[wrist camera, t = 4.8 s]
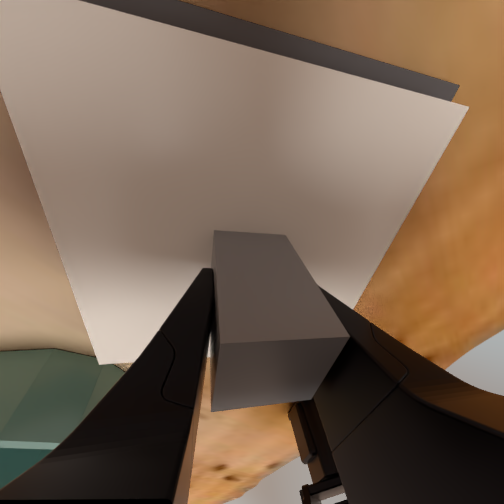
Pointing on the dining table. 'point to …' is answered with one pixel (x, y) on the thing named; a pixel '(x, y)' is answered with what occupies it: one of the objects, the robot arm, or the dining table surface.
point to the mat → (279, 43)
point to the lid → (212, 184)
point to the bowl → (45, 402)
